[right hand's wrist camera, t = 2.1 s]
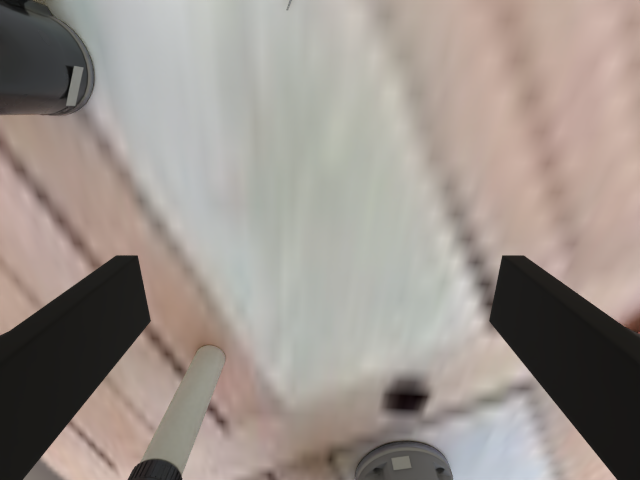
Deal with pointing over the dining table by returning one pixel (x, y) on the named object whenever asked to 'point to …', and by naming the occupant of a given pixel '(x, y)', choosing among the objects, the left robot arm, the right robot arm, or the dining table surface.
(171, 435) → the bottle
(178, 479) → the lid
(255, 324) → the dining table surface
